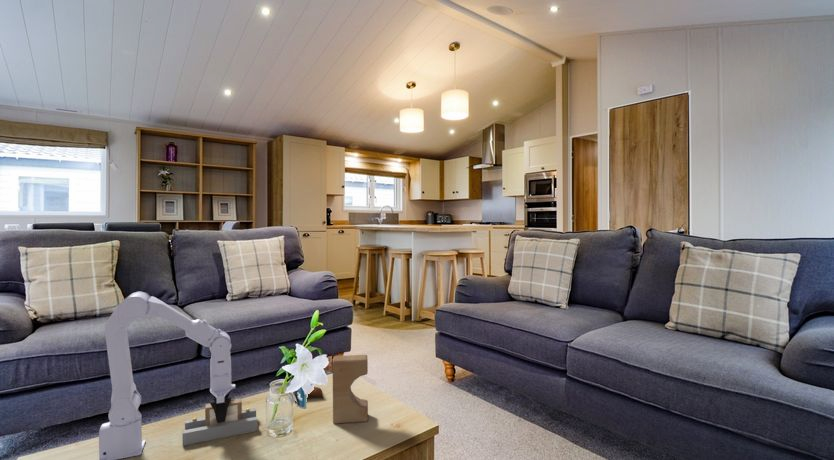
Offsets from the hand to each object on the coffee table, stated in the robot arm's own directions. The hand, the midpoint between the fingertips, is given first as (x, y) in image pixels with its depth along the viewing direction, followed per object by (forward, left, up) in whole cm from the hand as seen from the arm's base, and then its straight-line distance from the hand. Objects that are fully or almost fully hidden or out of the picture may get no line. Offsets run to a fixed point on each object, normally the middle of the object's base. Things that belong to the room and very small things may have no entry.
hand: (221, 417), depth 125 cm
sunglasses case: (+25, +16, -5) cm, 30 cm away
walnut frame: (+1, 0, -3) cm, 3 cm away
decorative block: (+38, -9, -5) cm, 39 cm away
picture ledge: (0, 0, -4) cm, 4 cm away
